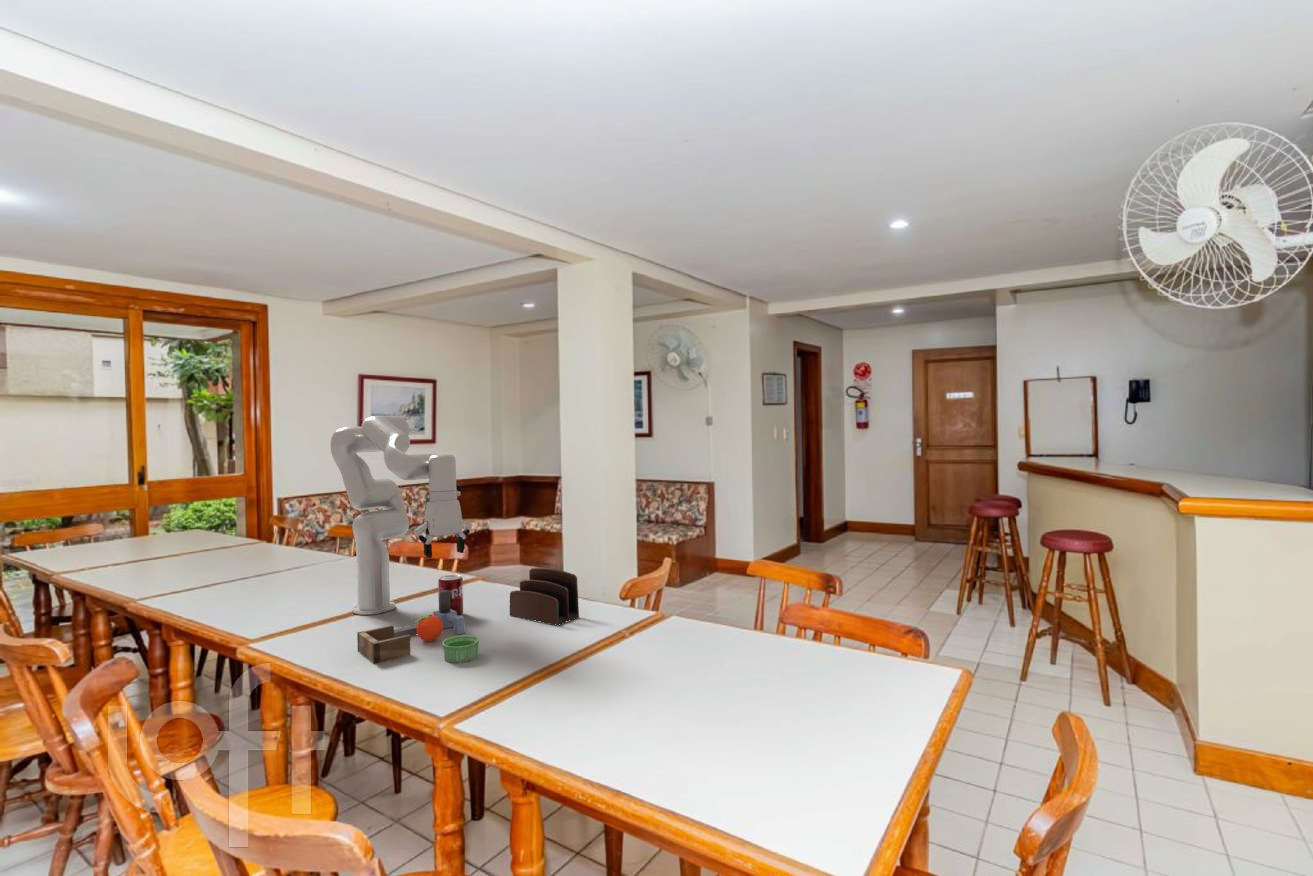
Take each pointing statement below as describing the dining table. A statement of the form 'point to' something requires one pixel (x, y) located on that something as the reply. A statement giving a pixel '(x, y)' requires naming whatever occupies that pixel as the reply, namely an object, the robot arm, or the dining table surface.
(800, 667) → the dining table surface
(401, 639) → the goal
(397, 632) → the rail
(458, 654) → the ramekin
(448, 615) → the kicker
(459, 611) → the soda can
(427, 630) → the clementine
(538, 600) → the letter holder
